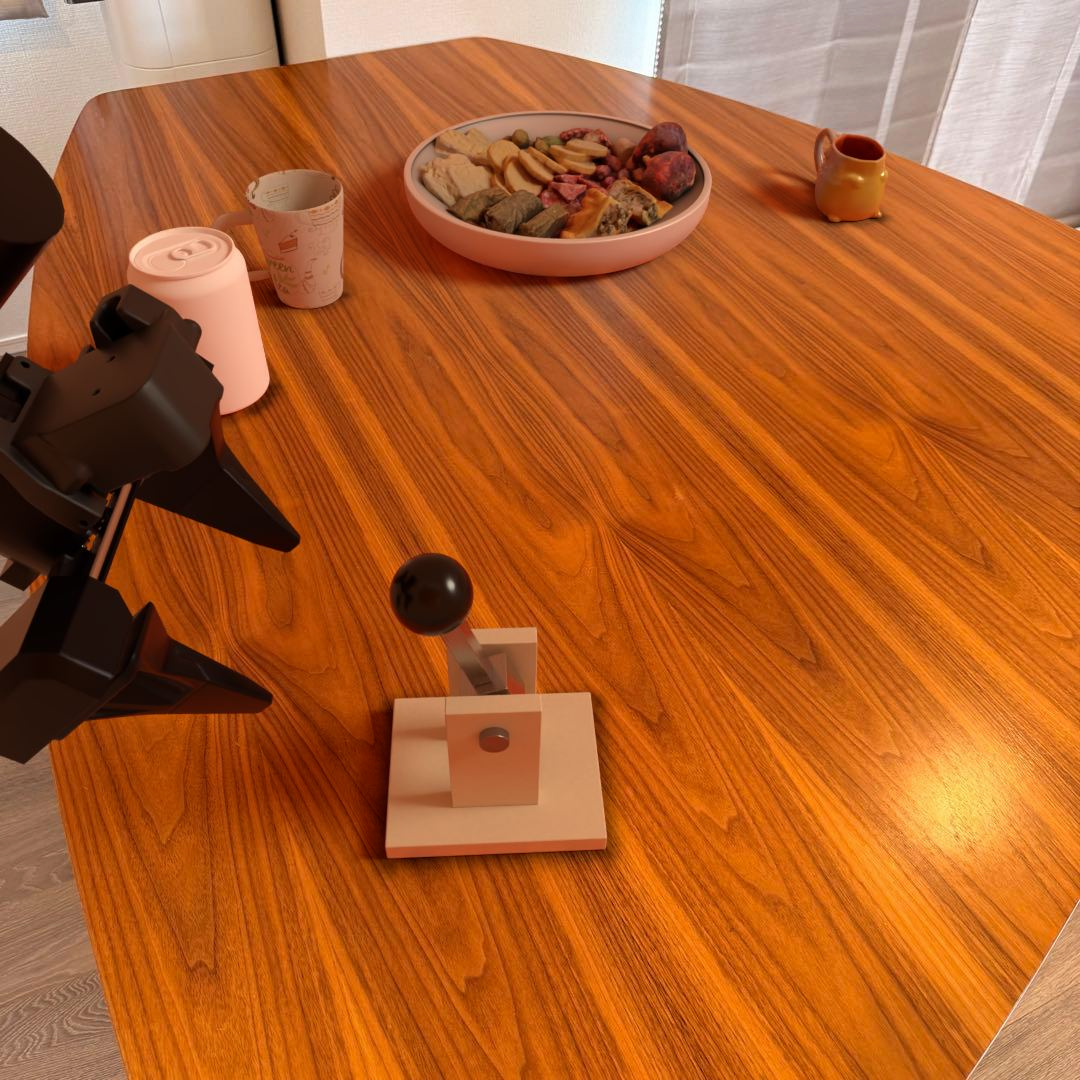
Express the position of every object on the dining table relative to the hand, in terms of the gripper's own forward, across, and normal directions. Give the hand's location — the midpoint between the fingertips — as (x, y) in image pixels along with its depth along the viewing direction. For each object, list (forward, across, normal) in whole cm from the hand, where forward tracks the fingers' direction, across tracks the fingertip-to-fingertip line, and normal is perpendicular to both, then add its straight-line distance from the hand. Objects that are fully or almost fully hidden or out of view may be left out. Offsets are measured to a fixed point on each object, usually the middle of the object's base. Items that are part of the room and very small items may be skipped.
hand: (282, 619), depth 43 cm
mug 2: (+42, +68, -24) cm, 84 cm away
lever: (+6, 0, -3) cm, 7 cm away
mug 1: (+4, +50, +15) cm, 52 cm away
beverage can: (+1, +35, +18) cm, 39 cm away
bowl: (+21, +64, -3) cm, 68 cm away
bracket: (+16, 0, +2) cm, 16 cm away
